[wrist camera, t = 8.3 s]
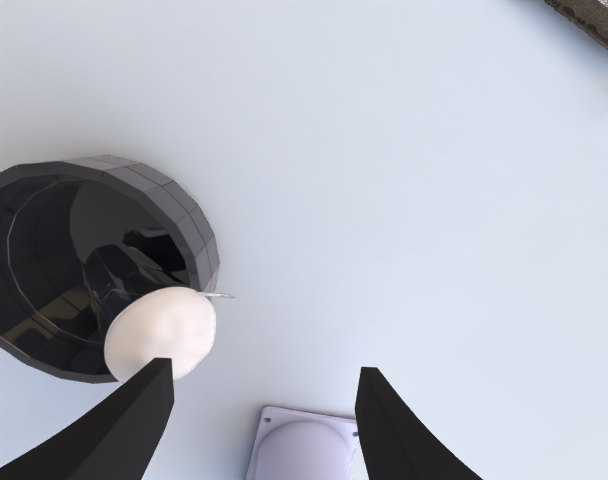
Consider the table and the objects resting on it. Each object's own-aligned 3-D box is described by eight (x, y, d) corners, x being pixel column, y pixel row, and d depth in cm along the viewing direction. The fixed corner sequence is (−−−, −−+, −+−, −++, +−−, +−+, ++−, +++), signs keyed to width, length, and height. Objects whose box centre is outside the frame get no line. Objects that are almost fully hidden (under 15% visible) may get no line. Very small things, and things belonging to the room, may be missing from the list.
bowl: (206, 349, 23) (186, 398, 19) (26, 318, 22) (-40, 363, 17) (234, 182, 19) (216, 195, 15) (19, 133, 18) (-67, 133, 14)
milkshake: (175, 241, 21) (265, 313, 15) (124, 311, 20) (195, 421, 14) (111, 204, 18) (189, 274, 11) (46, 285, 17) (90, 413, 10)
